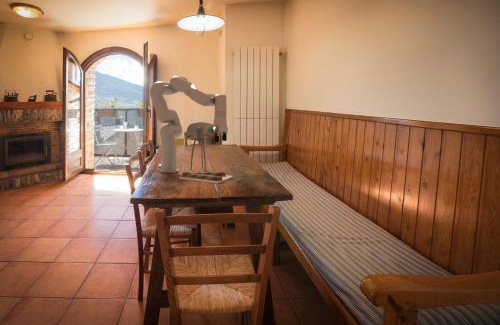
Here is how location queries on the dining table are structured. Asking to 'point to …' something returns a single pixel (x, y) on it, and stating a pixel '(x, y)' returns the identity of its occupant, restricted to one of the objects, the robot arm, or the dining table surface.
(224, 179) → the board
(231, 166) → the dining table surface
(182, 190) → the dining table surface
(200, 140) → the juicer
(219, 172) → the tongs arm
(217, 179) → the tongs base
